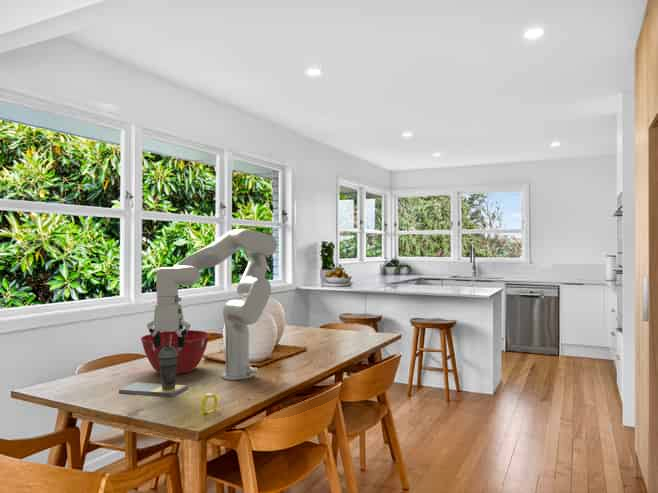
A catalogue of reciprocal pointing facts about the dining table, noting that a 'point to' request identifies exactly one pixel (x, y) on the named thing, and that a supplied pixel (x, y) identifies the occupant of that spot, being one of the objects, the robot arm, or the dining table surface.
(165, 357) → the beverage cup
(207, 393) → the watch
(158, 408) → the dining table surface
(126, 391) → the grey yellow flat slab
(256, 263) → the robot arm
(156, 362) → the mixing bowl
